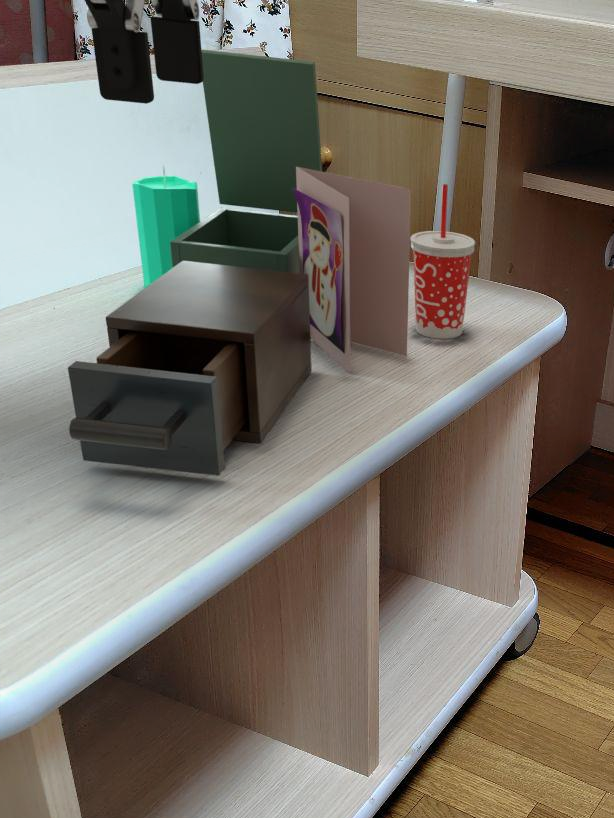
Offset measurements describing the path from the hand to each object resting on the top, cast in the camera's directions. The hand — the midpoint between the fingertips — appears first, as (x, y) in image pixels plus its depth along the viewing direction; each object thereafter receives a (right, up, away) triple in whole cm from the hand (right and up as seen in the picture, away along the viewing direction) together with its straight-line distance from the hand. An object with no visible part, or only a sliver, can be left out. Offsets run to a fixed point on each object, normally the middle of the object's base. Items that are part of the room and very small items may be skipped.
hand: (155, 90), depth 66 cm
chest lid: (-1, +9, +29) cm, 30 cm away
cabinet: (0, -19, +14) cm, 23 cm away
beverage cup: (+16, -10, +32) cm, 37 cm away
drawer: (-1, -23, +5) cm, 24 cm away
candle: (-12, -4, +36) cm, 38 cm away
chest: (-3, -7, +32) cm, 33 cm away
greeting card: (+8, -12, +26) cm, 30 cm away
